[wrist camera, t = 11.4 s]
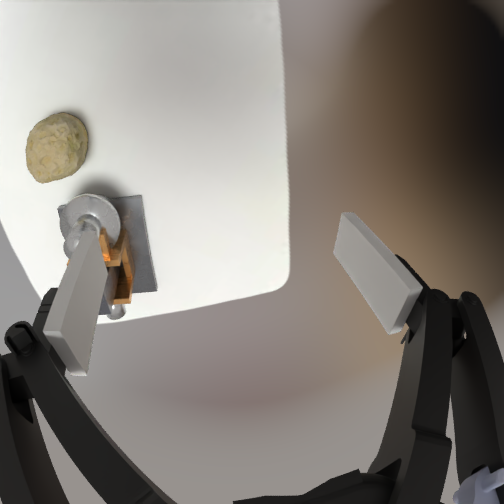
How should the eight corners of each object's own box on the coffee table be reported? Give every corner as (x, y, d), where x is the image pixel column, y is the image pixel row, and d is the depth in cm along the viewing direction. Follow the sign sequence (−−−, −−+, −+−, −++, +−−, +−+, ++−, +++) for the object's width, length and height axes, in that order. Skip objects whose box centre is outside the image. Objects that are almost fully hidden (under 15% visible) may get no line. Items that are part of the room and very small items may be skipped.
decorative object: (56, 164, 38) (62, 207, 35) (13, 135, 29) (10, 178, 25) (96, 125, 38) (108, 164, 34) (55, 88, 28) (58, 123, 25)
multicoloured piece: (54, 185, 37) (22, 224, 27) (138, 173, 40) (124, 209, 30) (87, 292, 49) (74, 342, 39) (157, 287, 52) (155, 338, 42)
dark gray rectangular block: (94, 244, 43) (76, 294, 33) (117, 241, 44) (103, 292, 34) (100, 264, 45) (85, 315, 36) (122, 262, 46) (111, 314, 36)
